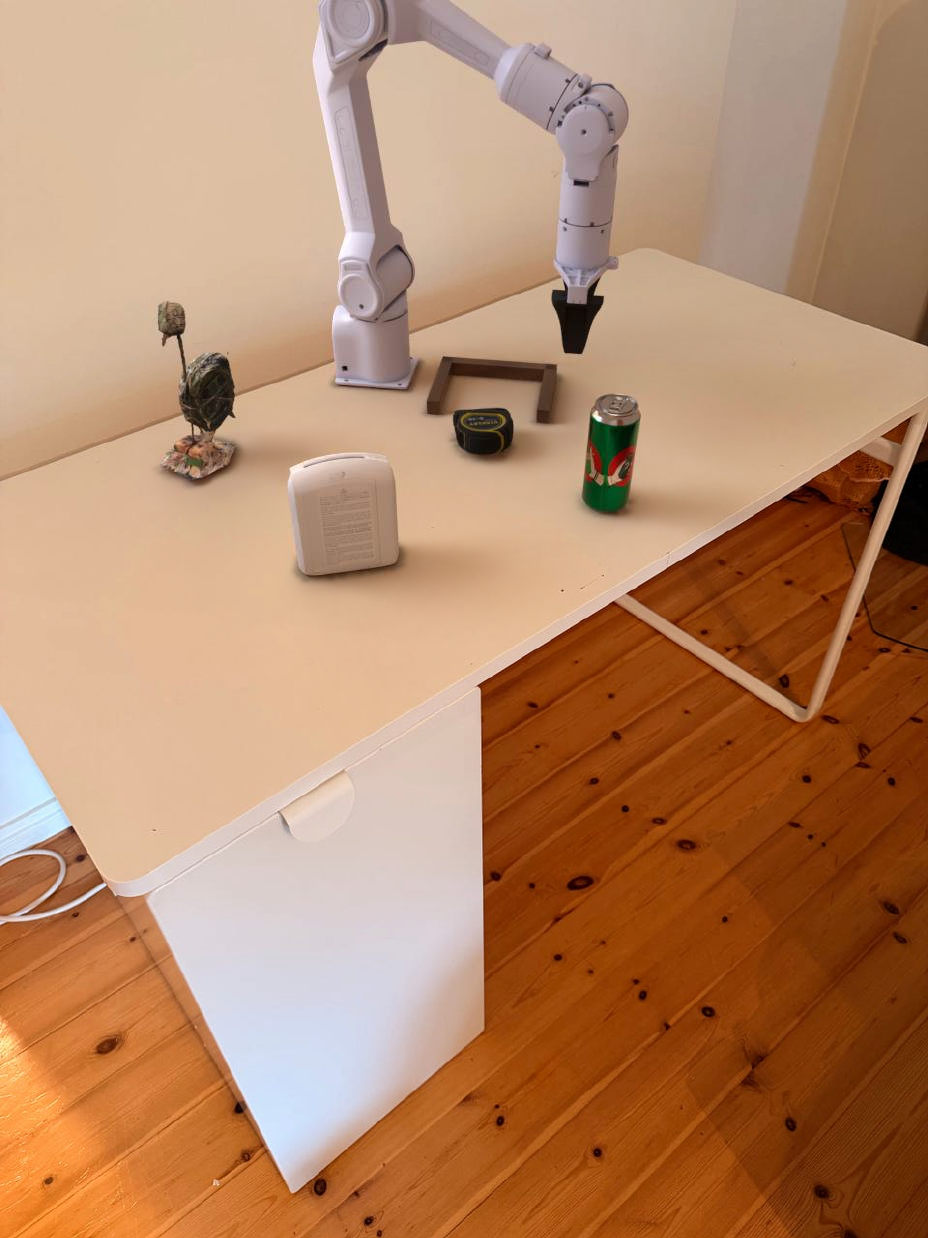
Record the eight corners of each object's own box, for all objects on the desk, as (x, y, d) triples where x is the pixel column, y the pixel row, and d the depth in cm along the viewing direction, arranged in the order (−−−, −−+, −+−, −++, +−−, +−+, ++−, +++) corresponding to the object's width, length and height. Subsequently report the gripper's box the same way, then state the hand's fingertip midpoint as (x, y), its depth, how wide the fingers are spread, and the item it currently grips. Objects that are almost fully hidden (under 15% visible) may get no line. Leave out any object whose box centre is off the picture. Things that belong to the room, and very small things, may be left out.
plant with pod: (267, 448, 109) (239, 281, 96) (188, 491, 103) (145, 319, 89) (224, 424, 113) (190, 260, 99) (145, 463, 107) (98, 295, 93)
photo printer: (396, 540, 97) (389, 437, 88) (403, 566, 93) (397, 462, 85) (296, 555, 95) (279, 451, 86) (301, 582, 92) (283, 477, 83)
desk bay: (426, 413, 115) (426, 400, 113) (442, 368, 123) (442, 355, 122) (548, 423, 113) (549, 410, 112) (556, 376, 121) (557, 364, 120)
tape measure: (509, 429, 112) (510, 401, 110) (516, 460, 107) (517, 432, 105) (452, 431, 112) (452, 404, 109) (457, 463, 107) (456, 435, 104)
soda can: (632, 492, 102) (646, 395, 94) (622, 519, 99) (636, 420, 91) (587, 484, 104) (597, 387, 95) (576, 510, 100) (586, 412, 92)
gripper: (621, 245, 93) (607, 369, 103) (624, 194, 104) (611, 311, 113) (551, 241, 94) (543, 364, 103) (561, 191, 104) (553, 307, 114)
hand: (575, 336), depth 108 cm, fingers open, 7 cm apart
